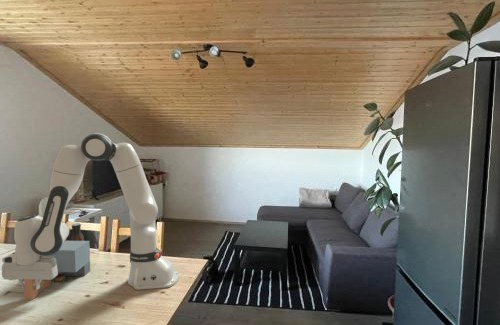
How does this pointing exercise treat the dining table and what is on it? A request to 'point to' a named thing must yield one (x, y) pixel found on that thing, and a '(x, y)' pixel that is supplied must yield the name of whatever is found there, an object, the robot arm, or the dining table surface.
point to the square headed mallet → (29, 290)
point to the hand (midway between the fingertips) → (31, 288)
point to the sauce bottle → (76, 233)
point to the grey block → (73, 258)
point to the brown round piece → (59, 278)
